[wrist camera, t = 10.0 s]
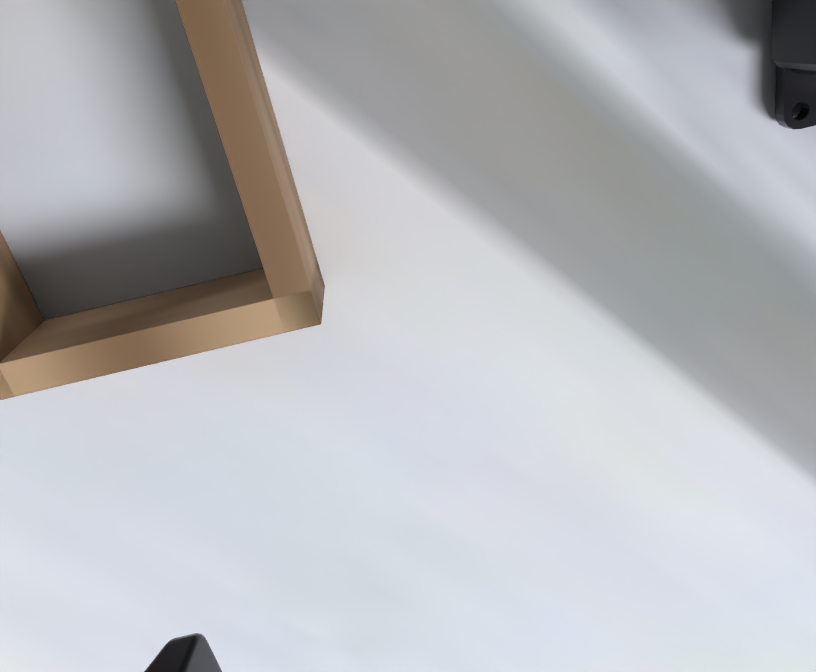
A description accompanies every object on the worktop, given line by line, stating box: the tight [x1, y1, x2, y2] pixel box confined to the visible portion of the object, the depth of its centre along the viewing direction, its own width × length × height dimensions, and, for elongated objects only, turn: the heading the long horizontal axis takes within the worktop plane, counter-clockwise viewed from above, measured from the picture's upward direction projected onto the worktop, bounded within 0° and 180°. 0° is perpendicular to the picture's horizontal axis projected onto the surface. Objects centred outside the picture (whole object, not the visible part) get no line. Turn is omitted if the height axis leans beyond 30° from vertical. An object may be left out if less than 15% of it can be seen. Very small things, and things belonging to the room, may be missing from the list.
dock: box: [0, 0, 325, 400], centre depth 16 cm, size 10×14×3 cm, turn 12°
